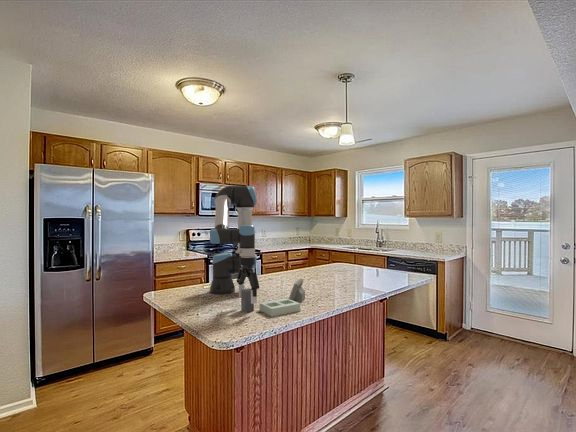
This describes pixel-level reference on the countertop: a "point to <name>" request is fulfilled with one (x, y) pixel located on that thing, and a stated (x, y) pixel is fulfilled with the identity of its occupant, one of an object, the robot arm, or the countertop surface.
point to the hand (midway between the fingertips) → (247, 300)
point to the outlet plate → (279, 307)
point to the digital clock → (297, 291)
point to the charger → (246, 300)
